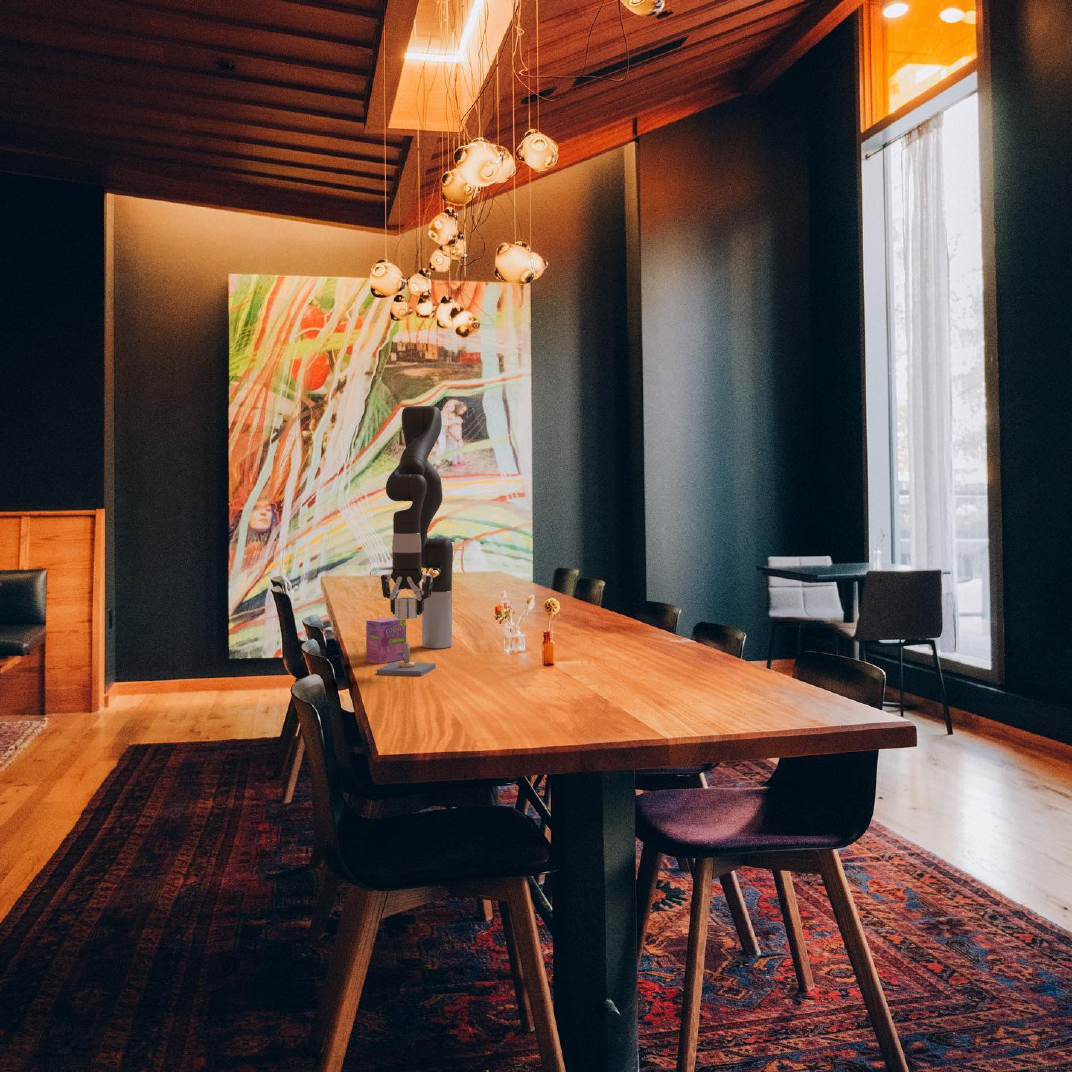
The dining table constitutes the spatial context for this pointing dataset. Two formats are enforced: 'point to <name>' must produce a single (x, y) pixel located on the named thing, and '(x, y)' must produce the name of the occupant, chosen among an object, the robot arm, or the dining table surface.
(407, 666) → the shaft stand
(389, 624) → the box
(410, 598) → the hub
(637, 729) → the dining table surface
